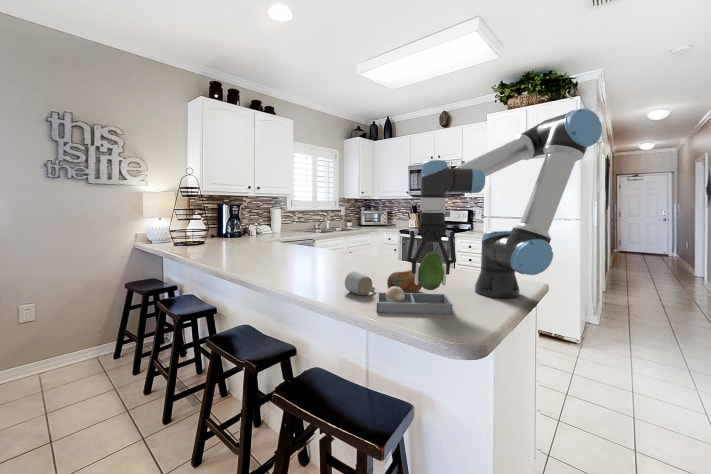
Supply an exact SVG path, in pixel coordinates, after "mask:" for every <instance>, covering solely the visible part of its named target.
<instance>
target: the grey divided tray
mask: <svg viewBox="0 0 711 474" xmlns="http://www.w3.org/2000/svg"><path fill="white" fill-rule="evenodd" d="M404 295H405V297H404V300H403V302H402V303H393V302H388V301H387V300H386V292H381V291H380V292H379V291H378V292H376V313H390V314H391V313H395V314H421V315H422V314H423V315H427V314H428V315H453V303H452V302H451V301H450V299H449V298H448V296H447V294H446V293H420V292H419V293H418V292H416V293H404Z"/></svg>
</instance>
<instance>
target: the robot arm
mask: <svg viewBox="0 0 711 474" xmlns="http://www.w3.org/2000/svg"><path fill="white" fill-rule="evenodd" d="M602 133H603V125H602V121H600V117H599V116H598V114H597V113H596V112H595V111H593V110H591V109H588V108H579V109H572V110H570V111H568V112H567V113H563V114H560V115H558V116H554V117H551V118H549V119H548V118H547V119H546V120H543V121H541V122H540V123H537V125H535V126H533V127H531V128H529V129H528V130H525V131H524V132H522V133H520V134H517V135H516V136H515V138H514V139H513V140H511V141H509V142H507V143H505V144H503V145H500V146H499V147H496V148H494V149H492V150H490V151H488V152H486V153H483V154H481V155H479V156H477V157H475V158H473V159H471V160H468V161H466V162H464V163H462V164H460V165H458V166H456V167H454V168H453V167H452V168H451V167H448V163H447V161H446V160H439V159H435V160H434V159H432V160H426V161H424V162H423V163H422V165H421V171H420V205H419V207H420V208H419V209H420V213H419V226H418V228H417V229H409V242H408V248H407V252H406V257H405V259H406V261H407V262H408V263H411V270H412V274H415V285H418V269H419V266H420V263H418V261H419V258H420V255H421V254H422V251H423V249H424V247H425V245H426V244H427V243H430V242H433V243H437V246H438V247H439V250H440V254H441V255H442V259H443V260H444V263H442V262H441V264H442V268H443V279H442V282H441V285H442V286H444V287H446V283H447V276H448V275H450V272H451V270H450V269H451V265H452V264H455V263H457V256H456V255H457V254H456V248H455V240H454V239H455V233H456V232H455V231H454V230H450V229H449V230H448V229H447V228H446V227H445V225H446V223H445V222H446V220H445V219H446V213H444V212H445V211H446V198H447V195H454V194H471V195H472V194H479V193H482V191H483V189H484V188H485V185H486V177H488V176H490V175H492V174H495V173H497V172H499V171H501V170H503V169H505V168H507V167H509V166H512V165H514V164H516V163H518V162H520V161H522V160H524V161H529V160H531V159H533V158H536V157H539V156H543V155H545V157H544V160H543V163H542V166H541V168H540V170H539V173H538V175H537V178H536V181H535V183H534V186H533V189H532V191H531V194H530V196H529V199H528V200H527V201H528V202H527V204H526V206H525V209H524V211H523V215H522V217H521V219H520V222H519V224H518V225H515V226H513V227H512V229H511V230H498V231H497V230H496V231H495V230H494V231H486V232H483V234H482V237H481V257H480V261H481V262H480V272H479V274H478V277H477V278H476V279H477V280H476V283H475V285H474V286H475V287H474V291H475V293H476V294H479V295H480V296H484V297H490V298H495V299H514V298H518V297H519V296H520V286H519V284H518V280H517V276H516V273H518V274H521V275H527V276H536V275H539V274H541V273H543V272H545V271H546V270H547V269H548V268H549V266H551V264H552V262H553V260H554V259H553V258H554V251H553V247H552V246H551V241H552V237H551V236H550V234H549V231H550V228H551V226H552V223H553V220H554V218H555V215H556V213H557V210H558V208H559V205H560V202H561V199H562V197H563V195H564V193H565V190H566V187H567V186H568V182H569V180H570V177H571V174H572V173H573V172H572V171H573V170H574V167H575V163H576V162H578V161H580V160H582V159H583V158H584V157H585V153H586V151H587V149H588V147H591V146H593V145H594V144H597V142H599V140H600V139H601V137H602V135H603V134H602ZM418 234H419V235H420V237H421V239H420V242H419V243H418V246H417V248H416V250H415V253H414V255H413V250H414V246H415V245H414V244H415V238H416V237H417V236H418ZM444 235H445V236H446V237H447V242H448V248H449V256H448V253H447V250H446V248H445V246H444V243H443V240H442V239H443V237H444ZM412 255H413V257H412Z"/></svg>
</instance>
